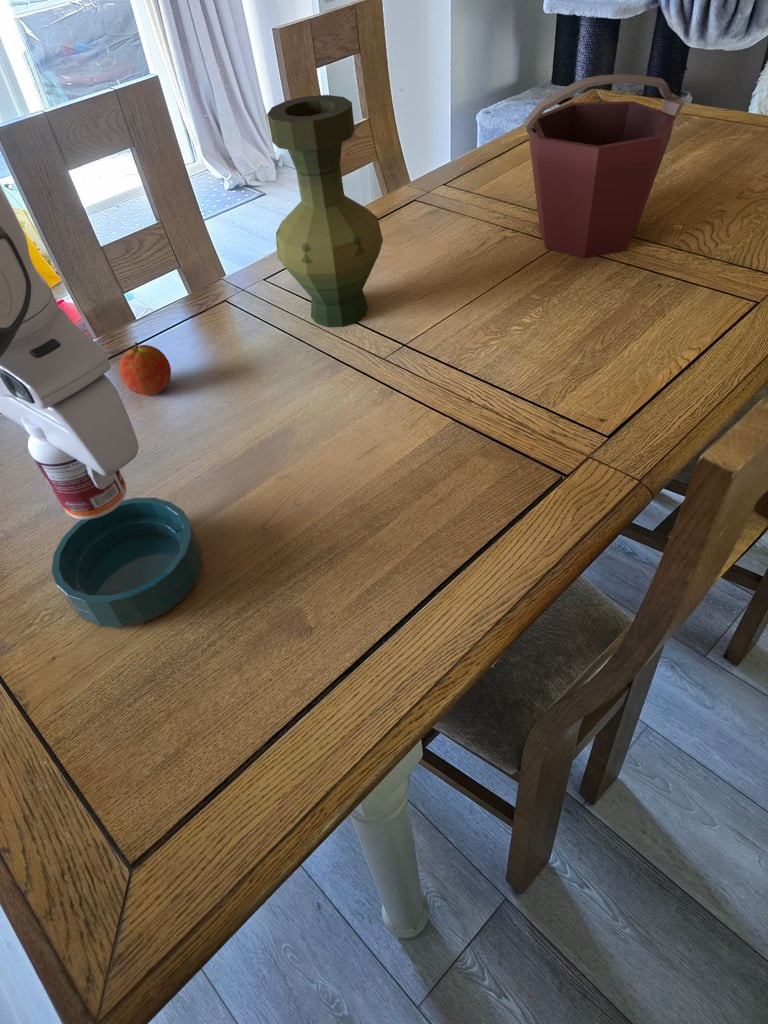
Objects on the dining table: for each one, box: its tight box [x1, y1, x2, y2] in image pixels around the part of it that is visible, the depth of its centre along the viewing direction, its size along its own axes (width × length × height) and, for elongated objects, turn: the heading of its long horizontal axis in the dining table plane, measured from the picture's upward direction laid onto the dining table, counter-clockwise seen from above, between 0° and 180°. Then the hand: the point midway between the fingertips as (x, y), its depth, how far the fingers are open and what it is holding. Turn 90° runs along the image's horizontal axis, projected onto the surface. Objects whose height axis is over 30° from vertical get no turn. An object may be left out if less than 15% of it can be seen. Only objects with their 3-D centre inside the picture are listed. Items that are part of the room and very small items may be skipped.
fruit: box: [119, 342, 172, 397], centre depth 99 cm, size 7×7×8 cm
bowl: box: [51, 497, 203, 628], centre depth 75 cm, size 15×15×5 cm
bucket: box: [523, 73, 685, 259], centre depth 115 cm, size 24×22×25 cm
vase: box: [266, 94, 384, 328], centre depth 103 cm, size 16×16×30 cm
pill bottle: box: [22, 416, 127, 520], centre depth 65 cm, size 6×6×11 cm
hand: (80, 468), depth 66 cm, fingers closed on pill bottle, 6 cm apart
